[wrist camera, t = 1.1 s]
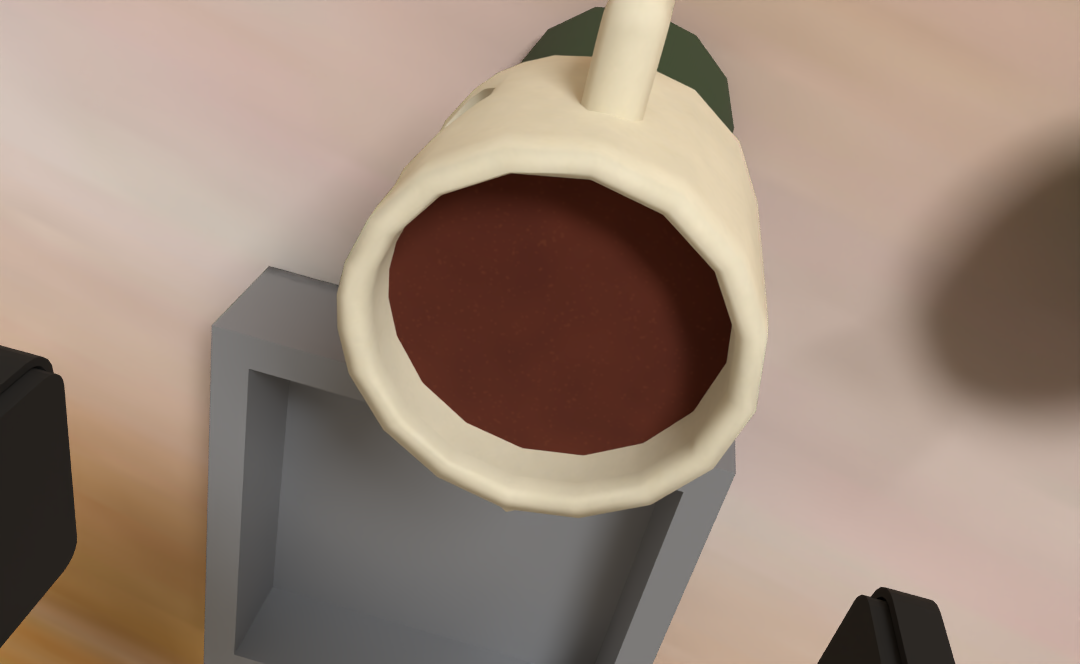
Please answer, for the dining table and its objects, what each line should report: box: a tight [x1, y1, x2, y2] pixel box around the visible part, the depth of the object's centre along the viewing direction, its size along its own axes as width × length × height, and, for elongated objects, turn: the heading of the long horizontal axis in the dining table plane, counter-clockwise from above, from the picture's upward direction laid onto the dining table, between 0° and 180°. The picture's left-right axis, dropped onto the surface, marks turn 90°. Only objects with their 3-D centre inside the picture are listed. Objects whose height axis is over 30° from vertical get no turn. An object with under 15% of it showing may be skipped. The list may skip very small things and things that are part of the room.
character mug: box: [337, 0, 768, 518], centre depth 20 cm, size 11×7×13 cm, turn 168°
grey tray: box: [204, 266, 736, 664], centre depth 32 cm, size 16×16×4 cm
